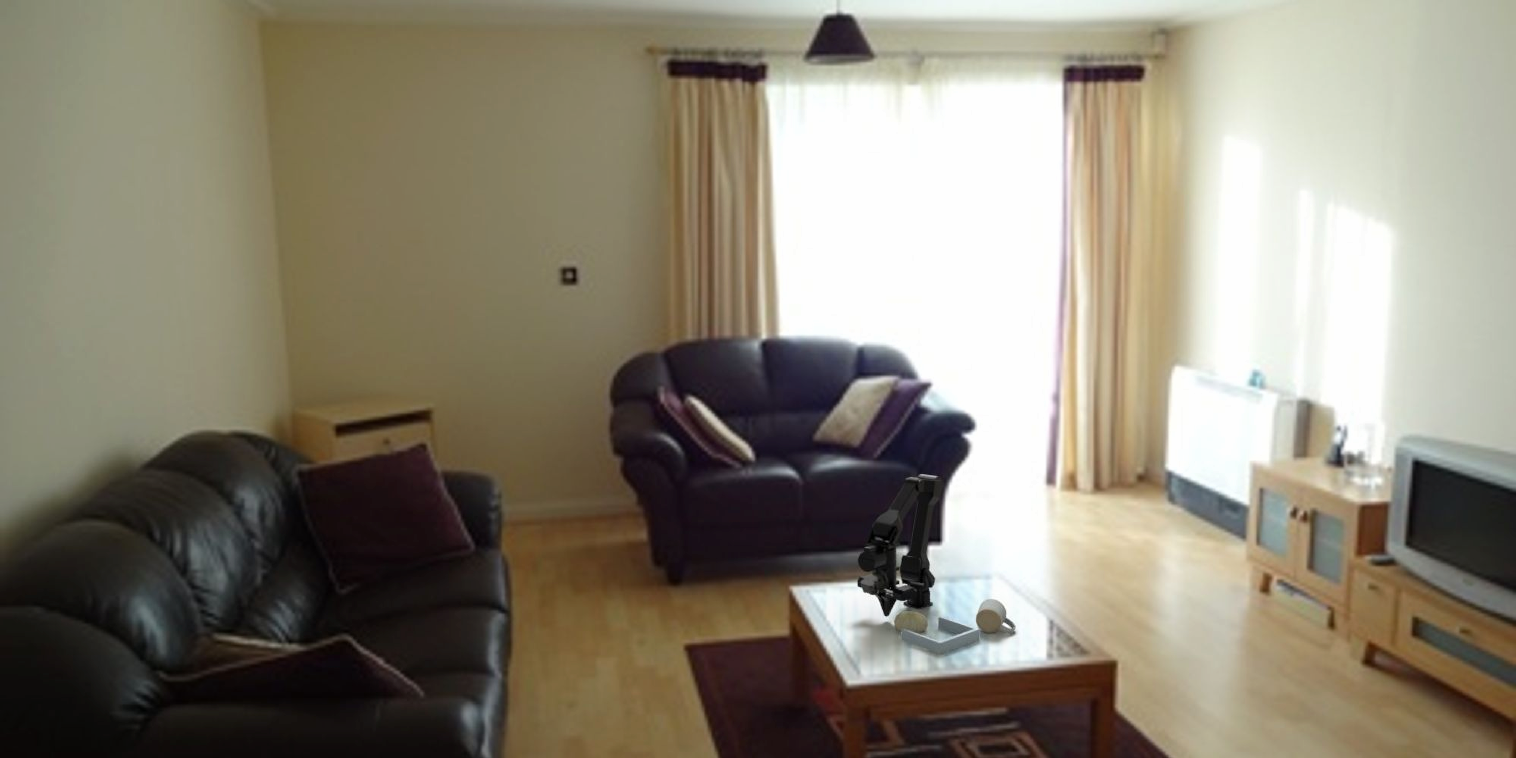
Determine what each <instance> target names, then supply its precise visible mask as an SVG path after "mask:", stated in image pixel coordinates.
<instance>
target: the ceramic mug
mask: <svg viewBox="0 0 1516 758" xmlns="http://www.w3.org/2000/svg"><path fill="white" fill-rule="evenodd" d="M975 616H976V617H975V623H976V625H977V627H978V629H980V631H982V632H984V633H988V634H994V633H995V632H998V631H999V630H1000V631H1002V632H1004V633H1007V634H1014V632H1015V630H1016V625H1015V623H1014V621H1012V620H1011V619H1010V618H1008V617H1007V609H1006V607H1005V605H1004V604H1003V603H1002V602H1001V601H999V600H998V599H995V598H994V599H993V598H988V599H985V600H983V601H982V602H981V603H980V605H979V608H978V610H977V613H976V615H975ZM1003 624H1006V625H1008V626H1005V625H1003Z"/></svg>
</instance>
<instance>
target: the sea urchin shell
mask: <svg viewBox="0 0 1516 758" xmlns="http://www.w3.org/2000/svg"><path fill="white" fill-rule="evenodd" d="M893 623H894V627H895V629H896V630H897V631H899V632H900V633H901V629H907V630H909V631H912V632H915V633H918V634H920V633H923V632H924V631H926V630H927V628H928V626H929V622H928V619H927V617H926V616H925V615H923V614H921V613H919V612H917V611H913V610H912V611H911V610H910V611H903V612H900V613H898V614H897V615H896V616H895V618H894V620H893Z"/></svg>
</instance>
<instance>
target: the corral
mask: <svg viewBox="0 0 1516 758" xmlns="http://www.w3.org/2000/svg"><path fill="white" fill-rule="evenodd" d="M937 619H938V620H937V621H938V623H937V624H938V628H939V629H940V628H941V629H943V630H946V631H949V632H952V633H955V635H954V636H951V637H948V638H945V639H942V640H936V639H934V638H932V637H928V636H925V635H923V634H920V633H915V632H912V631H909V630H907V629H901V632H900V637H901V638H900V639H901V641H903V642H906V643H908V644H911V645H914V646H917V647H919V648H922V649H925V650H927V651H930V652H933V653H935V654H939V655H941V654H944V653H947V652H951V651H952V650H955V649H959V648H960V647H963V646H967V645H968V644H972V643H975V642H977V641H980V636H981V635H980V634H981V632H980V631H981V629H980V628H979V627H978V628H977V627H975V626H971V625H969V624H965V623H964V622H959V621H957V620H954V619H950V618H948V617H945V616H942V615H940V616H938V618H937Z"/></svg>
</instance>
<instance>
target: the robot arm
mask: <svg viewBox="0 0 1516 758" xmlns="http://www.w3.org/2000/svg"><path fill="white" fill-rule="evenodd" d="M944 483H945V482H944V481H943V480H942V478H941V477H940V476H938V475H932V474H931V475H929V474H923V473H921V474H919V475H918V476H909V477H906V478H905V479H904V483H903V486H902V488H901V489H900V491H899V492H898V493H897V496H896V497H895V499H894V500H893V502H892V504H891V506H889V508H888V510H887V511H886V512H883V513H881V514H880V515H878V517H877V518H876V520H875V521H874V522H873V524H872V526H871V528H870V532H869V534H868V537H867V540H866V542H865V544H866V545H867V546H865V547H863V551H861V553H860V554H859V555H858V558H857V563H858V566H859V568H860V569H861V570H862V571H863V572H866V573H869V574H865V575H862V576H859V577H858V579H857V587H858V588H860V589H862V592H863V593H864V594H869V595H872V596H875V597H876V598H877V600H878V601H879V604H880V607H881V610H882V614H883V616H884V617H889V616H890V615H891V612H892V610H893V608H894V606H895V604H896V602H897V601H900V602H902V603H903V605H906V606H908V605H909V607H912V608H915V609H917V610H918V609H919V610H920V609H924V608H926V607H929V606H932V605H933V604H934V603H933V602H932V601H931V590H930V589H932V588H933V587H934V585H935V582H936V577H935V575H934V574H933V573H932V571H931V570H930V568H931V563H930V560H929V558H928V555H927V550H928V543H929V537H930V532H931V527H932V525H931V524H932V518H933V512H934V507H935V505H936V503H938V501H939V500H941V497H942V494H943V490H944V488H945V487H944V486H945V484H944ZM915 501H916V503H917V505H916V508H915V509H916V510H915V517H914V522H913V528H912V535H911V541H910V546H909V551H908V552H907V553H906V554H903V555H902V556H901V561H900V566H899V565H898V566H897V547H899V546H901V543H900V542H899V541H898V540H899V538H900V536H901V533H902V531H903V529H904V528H903V527H904V526H903V521H904V519H905V518H906V516H907V514H908V512H909V510H910V509H911V507H912V505H913V504H914V502H915ZM898 571H899V575H900V580H901V584H904V585H902V586H898V585H900V580H899V579H897V572H898ZM870 572H871V573H870Z"/></svg>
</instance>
